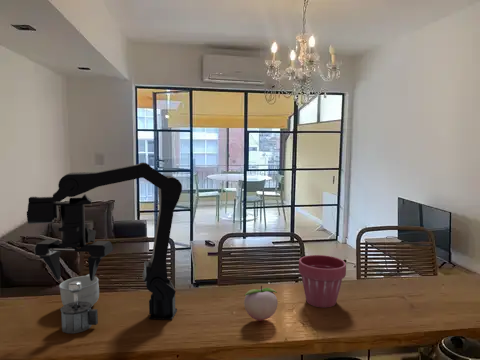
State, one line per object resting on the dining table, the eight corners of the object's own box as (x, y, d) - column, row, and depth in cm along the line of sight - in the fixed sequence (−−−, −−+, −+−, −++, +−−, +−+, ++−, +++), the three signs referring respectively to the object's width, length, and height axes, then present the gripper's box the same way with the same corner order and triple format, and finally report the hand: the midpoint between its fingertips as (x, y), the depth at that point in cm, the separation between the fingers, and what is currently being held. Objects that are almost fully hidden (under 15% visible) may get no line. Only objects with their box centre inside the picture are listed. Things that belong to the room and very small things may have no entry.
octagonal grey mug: (102, 321, 109) (102, 302, 108) (91, 334, 102) (90, 313, 101) (70, 320, 110) (69, 301, 109) (56, 332, 102) (55, 312, 102)
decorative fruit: (254, 331, 103) (254, 294, 102) (239, 319, 110) (239, 284, 109) (284, 323, 107) (284, 288, 106) (268, 312, 115) (268, 278, 114)
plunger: (88, 308, 107) (87, 280, 107) (80, 316, 103) (79, 286, 102) (72, 308, 108) (71, 279, 107) (63, 315, 103) (62, 286, 102)
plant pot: (355, 304, 120) (356, 263, 119) (322, 315, 113) (323, 271, 111) (320, 289, 132) (321, 252, 131) (288, 299, 124) (289, 259, 123)
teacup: (86, 316, 112) (85, 289, 111) (52, 313, 114) (50, 286, 114) (111, 297, 126) (110, 273, 125) (80, 294, 128) (79, 270, 127)
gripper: (119, 216, 110) (121, 271, 112) (55, 215, 112) (58, 269, 114) (102, 224, 99) (104, 285, 101) (31, 223, 101) (34, 282, 103)
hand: (75, 279), depth 105 cm, fingers open, 9 cm apart
